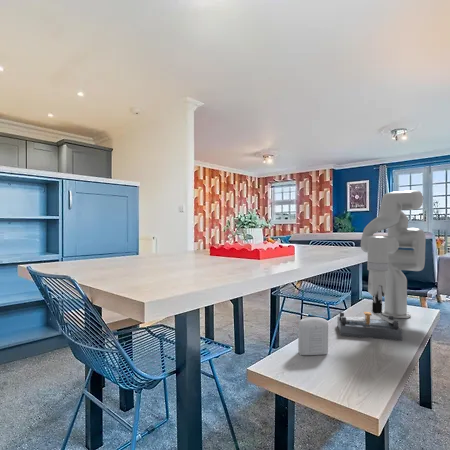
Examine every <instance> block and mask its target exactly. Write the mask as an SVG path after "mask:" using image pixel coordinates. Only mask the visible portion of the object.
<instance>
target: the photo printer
mask: <svg viewBox="0 0 450 450" xmlns="http://www.w3.org/2000/svg"><path fill="white" fill-rule="evenodd" d="M297 338H298V343H297V345H298V346H297V347H298V349H297V350H298V354H299V355H301V356H316V355H317V356H319V355H321V356H323V355H328V354H329V321H328V320H327V319H325V318H322V317H318V316H317V317H316V316H309V317H305V318H302V319H299V321H298V337H297Z"/></svg>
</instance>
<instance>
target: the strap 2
mask: <svg viewBox="0 0 450 450" xmlns="http://www.w3.org/2000/svg"><path fill="white" fill-rule="evenodd" d="M370 313H371V314H372V315H374V316H376V317H377V318H379V319H381V320H386V321H388V322H390V323H392V324H393V321H395V320H393V319H389V317H388V316H385V315H383V314H382V313H381V314H380V313H373V311H372V309H371V310H370Z"/></svg>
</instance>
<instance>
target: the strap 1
mask: <svg viewBox="0 0 450 450" xmlns="http://www.w3.org/2000/svg"><path fill="white" fill-rule="evenodd" d="M342 317H346V321H347V322H366V320H365V316H345V315H344V316H341V320H342Z"/></svg>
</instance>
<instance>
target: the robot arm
mask: <svg viewBox="0 0 450 450" xmlns="http://www.w3.org/2000/svg"><path fill="white" fill-rule="evenodd" d="M423 203H424V195H423V193H422V192H421V191H420V190H404V191H391V192H387V193H384V194H383V195H382V200H381V204H380V207H379V211H378V216H377V217H375V218H374V219H372V220H371V221H370V222H369V223H368V224H367V225H366V226H365V227H364V228H363V231H362V235H361V238H360V248H361V250H362V251H363V252H365V253H367V261H366V262H367V266H366V267H367V271H368V281H367V283H368V285H367V292H368V293H369V295H370V296H371V297H372V304H371V305H372V309H371V310H372V311H373V313H379V314H381V315H383V316H385V317H389V316H393V317H394V319H408V318H411V316H412V315H411V313H410V312H408V279H407V277H406V275H405V274H404V272H403V271H413V272H420V271H423V270H424V268H425V263H426V233H425V231H424V229H421V228H418V227H417V228H416V227H409V217H408V216H407V215H406V213H404V212H403V211H405V210H406V211H409V210H410V211H412V210H414V211H415V210H419V209H420V208H422V206H423ZM386 229H387V235H375V234H376V233H378V232H380V231H383V230H386ZM399 248H402V249H399ZM408 249H409V250H408ZM411 249H412V250H411ZM383 298H384V308H383ZM373 313H372V314H373Z"/></svg>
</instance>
